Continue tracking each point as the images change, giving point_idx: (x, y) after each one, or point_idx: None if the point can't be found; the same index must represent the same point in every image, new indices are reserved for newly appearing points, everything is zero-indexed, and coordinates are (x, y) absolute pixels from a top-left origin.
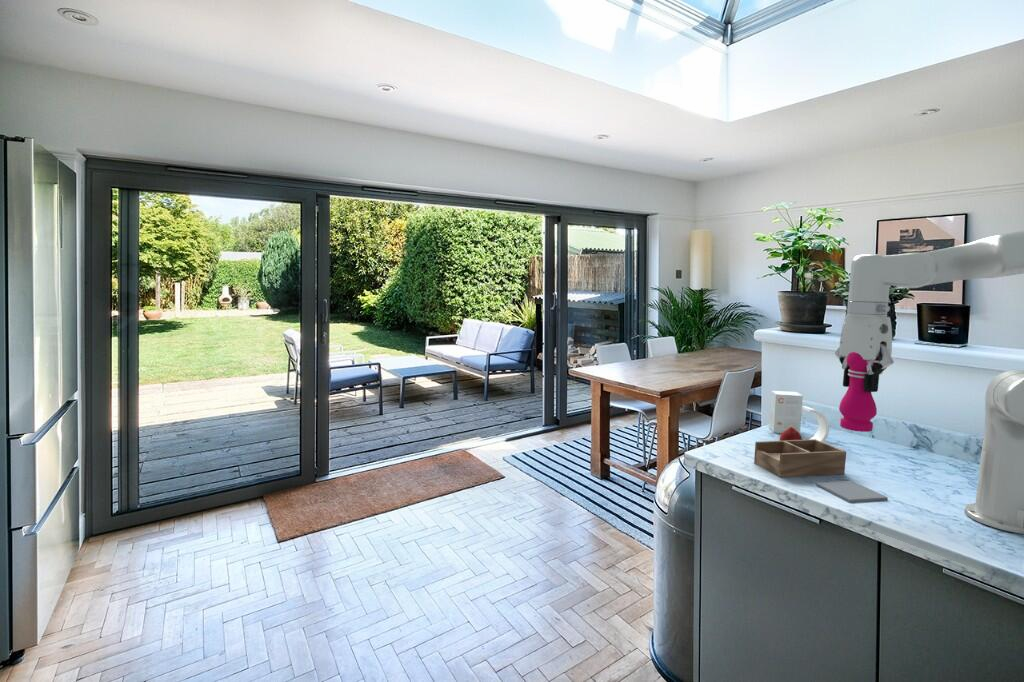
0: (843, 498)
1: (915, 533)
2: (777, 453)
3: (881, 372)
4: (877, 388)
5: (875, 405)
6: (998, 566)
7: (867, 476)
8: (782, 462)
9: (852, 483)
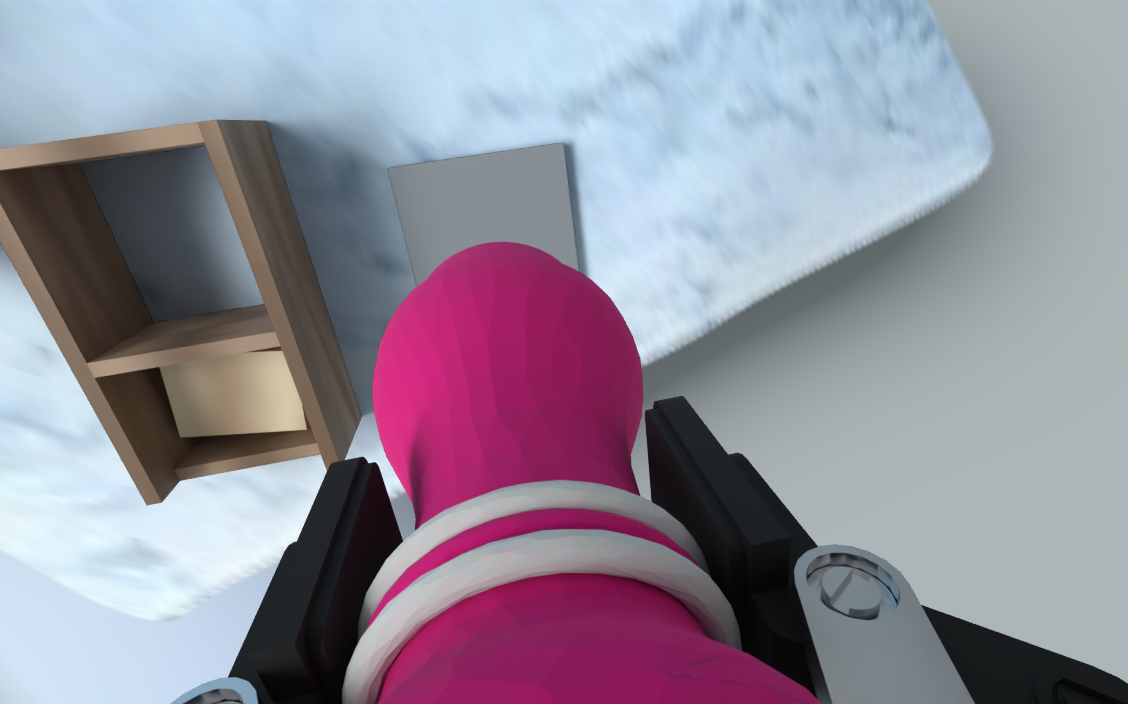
0: None
1: (793, 249)
2: (170, 390)
3: (896, 587)
4: (690, 412)
5: (613, 323)
6: (972, 173)
7: (278, 13)
8: (347, 445)
9: (421, 188)
